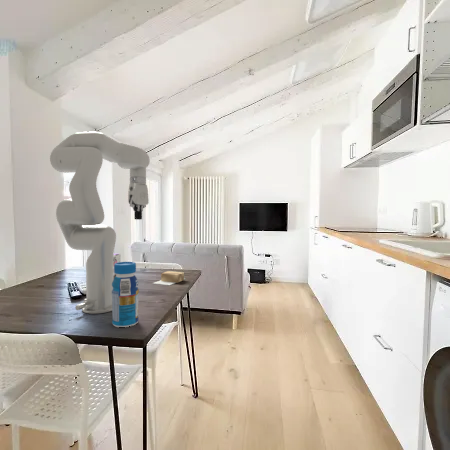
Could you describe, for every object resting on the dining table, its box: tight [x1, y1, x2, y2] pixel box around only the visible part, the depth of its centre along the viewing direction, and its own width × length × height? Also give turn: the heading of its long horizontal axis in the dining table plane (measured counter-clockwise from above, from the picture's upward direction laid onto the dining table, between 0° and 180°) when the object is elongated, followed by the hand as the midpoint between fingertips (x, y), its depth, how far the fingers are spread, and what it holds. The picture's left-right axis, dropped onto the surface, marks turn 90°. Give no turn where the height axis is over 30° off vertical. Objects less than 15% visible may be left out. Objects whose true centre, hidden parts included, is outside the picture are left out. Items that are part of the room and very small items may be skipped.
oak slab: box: [160, 270, 185, 284], centre depth 156 cm, size 4×10×7 cm
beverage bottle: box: [111, 261, 140, 328], centre depth 96 cm, size 8×8×20 cm
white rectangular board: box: [152, 277, 186, 286], centre depth 156 cm, size 16×10×1 cm, turn 158°
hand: (138, 219), depth 142 cm, fingers closed
